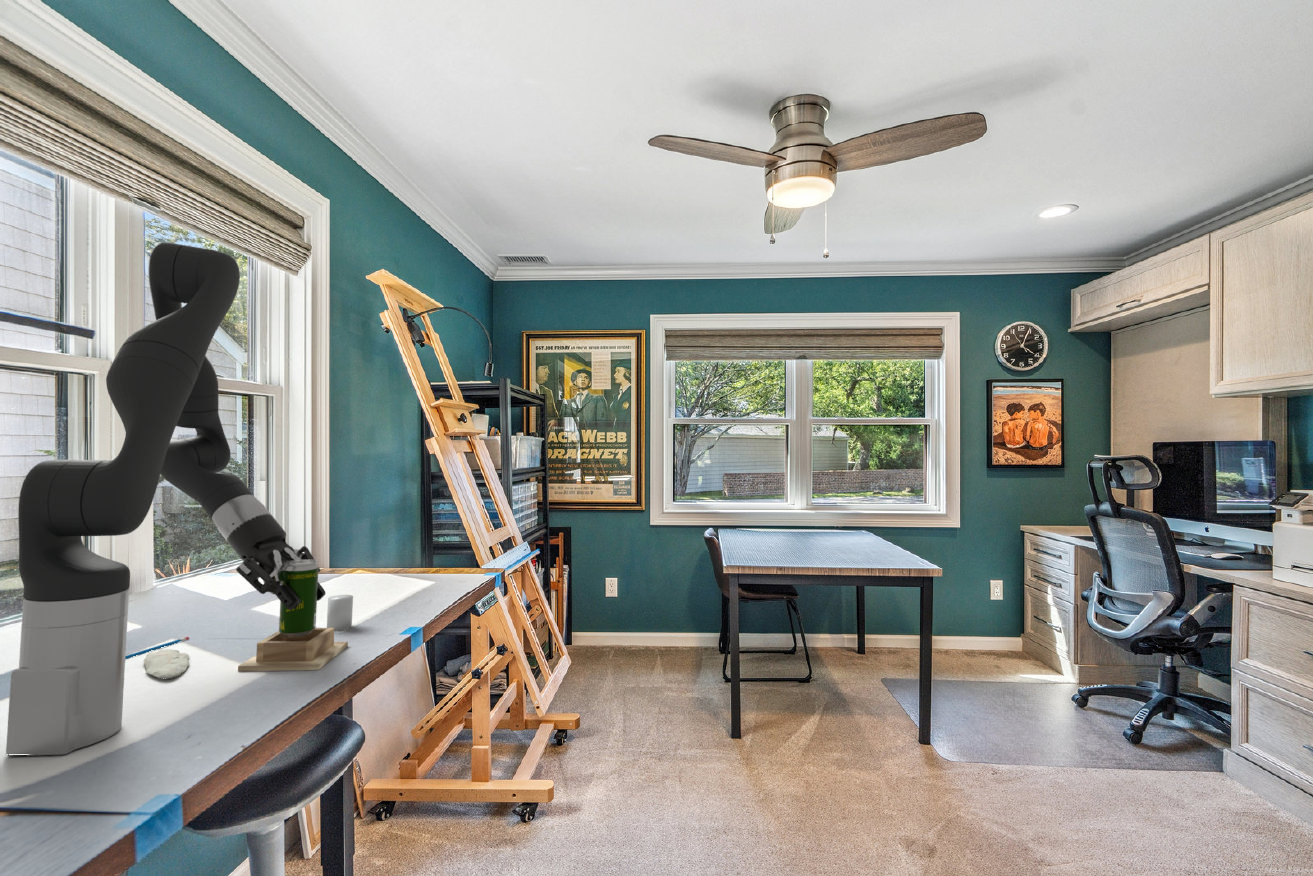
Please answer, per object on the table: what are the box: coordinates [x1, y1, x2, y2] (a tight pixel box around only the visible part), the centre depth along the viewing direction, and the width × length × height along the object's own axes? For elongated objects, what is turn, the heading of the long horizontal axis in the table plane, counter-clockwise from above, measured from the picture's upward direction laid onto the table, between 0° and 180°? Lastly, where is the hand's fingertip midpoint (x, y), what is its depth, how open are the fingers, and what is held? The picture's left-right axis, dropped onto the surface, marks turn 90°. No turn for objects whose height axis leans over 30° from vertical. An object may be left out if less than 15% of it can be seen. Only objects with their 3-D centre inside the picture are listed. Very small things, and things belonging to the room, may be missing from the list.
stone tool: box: [143, 648, 190, 680], centre depth 95 cm, size 6×2×15 cm
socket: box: [237, 627, 349, 672], centre depth 101 cm, size 12×12×4 cm
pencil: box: [125, 636, 190, 660], centre depth 101 cm, size 1×17×1 cm, turn 170°
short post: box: [326, 594, 354, 632], centre depth 119 cm, size 4×4×6 cm
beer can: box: [278, 559, 320, 637], centre depth 101 cm, size 5×5×12 cm
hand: (308, 601), depth 101 cm, fingers closed on beer can, 5 cm apart
